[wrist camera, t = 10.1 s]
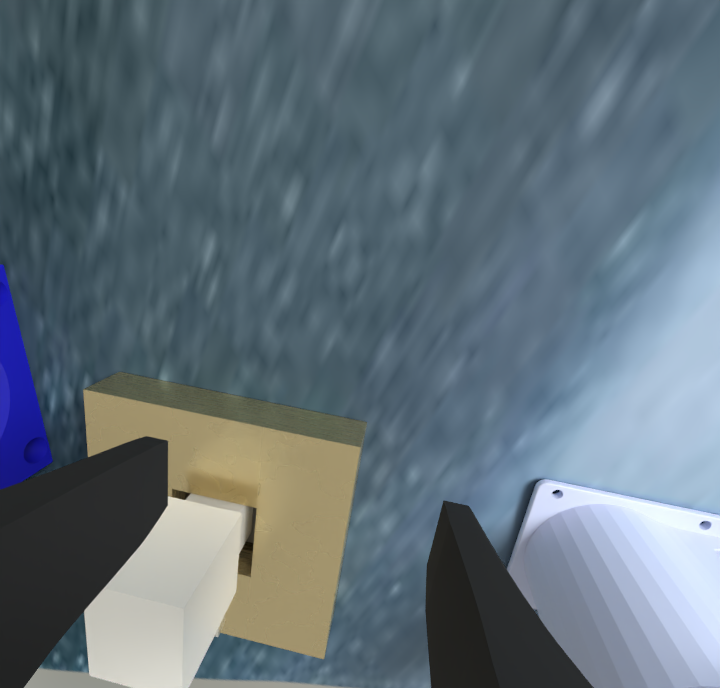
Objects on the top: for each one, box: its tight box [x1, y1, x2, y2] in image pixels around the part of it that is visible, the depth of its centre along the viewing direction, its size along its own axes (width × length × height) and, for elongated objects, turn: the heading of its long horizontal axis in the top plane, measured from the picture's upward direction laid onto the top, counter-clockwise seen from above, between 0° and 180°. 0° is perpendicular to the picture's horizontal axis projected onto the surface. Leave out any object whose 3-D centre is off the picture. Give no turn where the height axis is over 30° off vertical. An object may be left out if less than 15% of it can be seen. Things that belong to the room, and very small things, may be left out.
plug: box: [84, 493, 253, 688], centre depth 19 cm, size 4×5×8 cm
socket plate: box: [83, 372, 367, 659], centre depth 22 cm, size 14×14×3 cm
